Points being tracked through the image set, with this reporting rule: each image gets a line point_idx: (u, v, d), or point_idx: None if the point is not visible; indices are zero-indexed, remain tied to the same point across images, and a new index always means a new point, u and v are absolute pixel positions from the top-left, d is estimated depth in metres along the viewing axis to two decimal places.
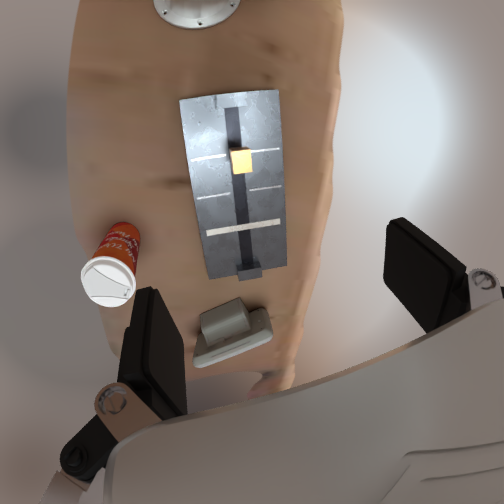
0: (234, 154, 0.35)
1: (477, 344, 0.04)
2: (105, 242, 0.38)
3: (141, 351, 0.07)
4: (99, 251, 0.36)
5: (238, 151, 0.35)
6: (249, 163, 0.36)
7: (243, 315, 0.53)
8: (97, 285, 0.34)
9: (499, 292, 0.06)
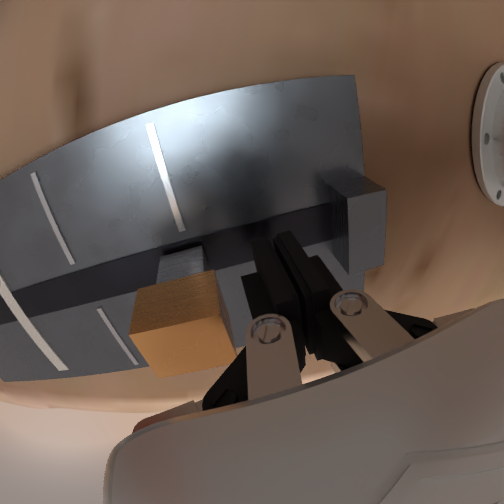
0: (210, 325, 0.09)
1: (477, 344, 0.04)
2: None
3: (286, 284, 0.09)
4: None
5: (224, 332, 0.09)
6: (185, 369, 0.10)
7: None
8: None
9: (376, 306, 0.07)
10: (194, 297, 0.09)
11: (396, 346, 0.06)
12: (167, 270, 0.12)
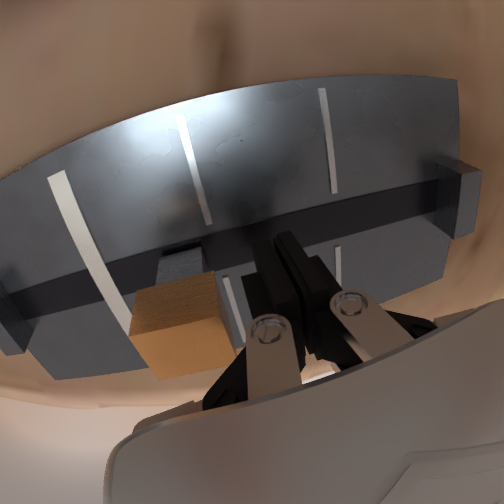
0: (210, 326, 0.09)
1: (477, 344, 0.04)
2: None
3: (286, 284, 0.09)
4: None
5: (224, 333, 0.09)
6: (185, 370, 0.09)
7: None
8: None
9: (376, 306, 0.07)
10: (194, 298, 0.09)
11: (396, 346, 0.06)
12: (166, 271, 0.12)
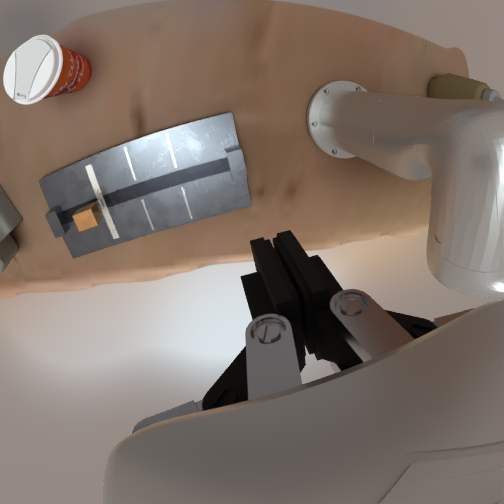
0: (89, 212, 0.33)
1: (477, 344, 0.04)
2: (73, 56, 0.23)
3: (286, 284, 0.09)
4: (65, 51, 0.21)
5: (93, 214, 0.33)
6: (85, 227, 0.34)
7: (7, 231, 0.33)
8: (28, 57, 0.17)
9: (376, 306, 0.07)
10: (88, 207, 0.34)
11: (396, 346, 0.06)
12: None
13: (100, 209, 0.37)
